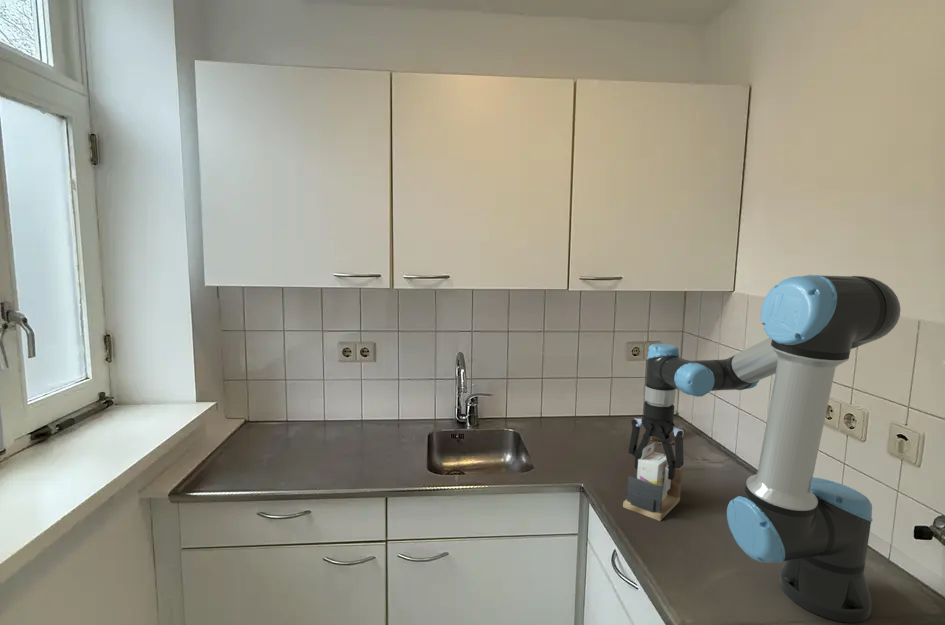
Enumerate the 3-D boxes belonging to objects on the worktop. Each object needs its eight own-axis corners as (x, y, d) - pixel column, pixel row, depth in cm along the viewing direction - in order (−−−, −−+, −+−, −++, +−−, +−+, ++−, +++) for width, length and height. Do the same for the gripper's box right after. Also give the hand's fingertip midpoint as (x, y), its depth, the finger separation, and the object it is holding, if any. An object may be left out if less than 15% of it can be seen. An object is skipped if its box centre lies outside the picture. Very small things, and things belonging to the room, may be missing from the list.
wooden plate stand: (679, 501, 139) (682, 468, 138) (660, 521, 128) (662, 485, 127) (644, 489, 145) (646, 457, 144) (622, 507, 135) (625, 473, 134)
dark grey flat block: (660, 512, 130) (662, 486, 129) (658, 514, 128) (660, 488, 128) (627, 500, 135) (629, 475, 135) (625, 502, 134) (626, 477, 133)
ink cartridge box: (656, 508, 132) (659, 454, 130) (637, 501, 135) (640, 449, 133) (668, 496, 138) (671, 444, 136) (650, 490, 141) (653, 440, 139)
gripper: (702, 407, 129) (695, 492, 132) (630, 392, 142) (624, 469, 145) (693, 414, 124) (685, 502, 127) (618, 397, 137) (613, 478, 140)
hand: (653, 485), depth 136 cm, fingers open, 7 cm apart
